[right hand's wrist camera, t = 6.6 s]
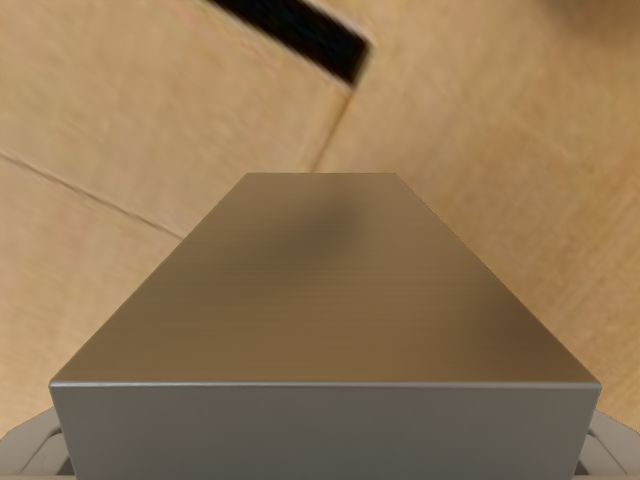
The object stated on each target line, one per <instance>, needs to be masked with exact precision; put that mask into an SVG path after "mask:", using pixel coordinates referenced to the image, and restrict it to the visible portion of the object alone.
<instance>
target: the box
mask: <svg viewBox="0 0 640 480" xmlns="http://www.w3.org/2000/svg"><path fill="white" fill-rule="evenodd" d="M601 389H602V388H601V384H600V382H599V381H598V380H597V379H596V378H595V377H594V376H593V375H592V374H591V373H590V372H589V371H588V370H587V369H586V368H585V367H584V366H583V365H582V364H581V363H580V362H579V360H578V359H577V358H576V357H575V356H574V355H573V354H572V353H571V352H570V351H569V350H568V349H567V348H566V347H565V346H564V345H563V344H562V343H561V342H560V341H559V340H558V339H557V338H556V337H555V336H554V335H553V334H552V333H551V332H550V331H549V330H548V329H547V328H546V327H545V326H544V325H543V324H542V323H541V322H540V321H539V320H538V319H537V318H536V317H535V315H534V314H533V313H532V312H531V311H530V310H529V309H528V308H527V307H526V306H525V305H524V304H523V303H522V302H521V301H520V300H519V299H518V298H517V297H516V296H515V295H514V294H513V293H512V292H511V291H510V290H509V289H508V288H507V287H506V286H505V285H504V284H503V283H502V282H501V281H500V280H499V279H498V278H497V277H496V276H495V275H494V274H493V273H492V271H491V270H490V269H489V268H488V267H487V266H486V265H485V264H484V263H483V262H482V261H481V260H480V259H479V258H478V257H477V256H476V255H475V254H474V253H473V252H472V251H471V250H470V249H469V248H468V247H467V246H466V245H465V244H464V243H463V242H462V241H461V240H460V239H459V238H458V237H457V236H456V235H455V234H454V233H453V232H452V231H451V230H450V229H449V228H448V226H447V225H446V224H445V223H444V222H443V221H442V220H441V219H440V218H439V217H438V216H437V215H436V214H435V213H434V212H433V211H432V210H431V209H430V208H429V207H428V206H427V205H426V204H425V203H424V202H423V201H422V200H421V199H420V198H419V197H418V196H417V195H416V194H415V193H414V192H413V191H412V190H411V189H410V188H409V187H408V186H407V185H406V184H405V183H404V181H403V180H402V179H401V178H400V177H399V176H398V175H397V174H395V173H247V174H246V175H245V176H244V177H243V178H242V179H241V180H240V181H239V182H238V183H237V184H236V185H235V186H234V187H233V188H232V189H231V191H230V192H229V193H228V194H227V195H226V196H225V197H224V198H223V199H222V200H221V201H220V202H219V203H218V204H217V205H216V206H215V207H214V208H213V209H212V211H211V212H210V213H209V214H208V215H207V216H206V217H205V218H204V219H203V220H202V221H201V222H200V223H199V224H198V225H197V226H196V227H195V228H194V230H193V231H192V232H191V233H190V234H189V235H188V236H187V237H186V238H185V239H184V240H183V241H182V242H181V243H180V244H179V245H178V246H177V247H176V248H175V250H174V251H173V252H172V253H171V254H170V255H169V256H168V257H167V258H166V259H165V260H164V261H163V262H162V263H161V264H160V265H159V266H158V267H157V269H156V270H155V271H154V272H153V273H152V274H151V275H150V276H149V277H148V278H147V279H146V280H145V281H144V282H143V283H142V284H141V285H140V286H139V287H138V289H137V290H136V291H135V292H134V293H133V294H132V295H131V296H130V297H129V298H128V299H127V300H126V301H125V302H124V303H123V304H122V305H121V306H120V308H119V309H118V310H117V311H116V312H115V313H114V314H113V315H112V316H111V317H110V318H109V319H108V320H107V321H106V322H105V323H104V324H103V325H102V326H101V328H100V329H99V330H98V331H97V332H96V333H95V334H94V335H93V336H92V337H91V338H90V339H89V340H88V341H87V342H86V343H85V344H84V345H83V347H82V348H81V349H80V350H79V351H78V352H77V353H76V354H75V355H74V356H73V357H72V358H71V359H70V360H69V361H68V362H67V363H66V364H65V366H64V367H63V368H62V369H61V370H60V371H59V372H58V373H57V374H56V375H55V376H54V377H53V378H52V379H51V380H50V382H49V390H50V393H51V397H52V400H53V403H54V407H55V410H56V413H57V417H58V420H59V423H60V427H61V430H62V433H63V436H64V440H65V443H66V446H67V450H68V453H69V456H70V460H71V463H72V466H73V470H74V473H75V476H76V480H572V478H573V475H574V472H575V469H576V466H577V463H578V460H579V457H580V454H581V451H582V447H583V444H584V441H585V438H586V435H587V432H588V429H589V426H590V423H591V420H592V416H593V413H594V410H595V407H596V404H597V401H598V398H599V395H600V392H601Z"/></svg>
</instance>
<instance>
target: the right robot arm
mask: <svg viewBox="0 0 640 480" xmlns="http://www.w3.org/2000/svg"><path fill="white" fill-rule="evenodd" d="M0 480H76V476H75V473H74V470H73V466H72V463H71V460H70V456H69V453H68V450H67V446H66V443H65V440H64V436H63V433H62V430H61V427H60V423H59V420H58V417H57V413H56V410H55V407H54V406H53V407H52V408H50V409H48V410H46V411H44V412H43V413H41V414H39V415H37V416H35V417H33V418H32V419H30V420H28V421H26V422H24V423H23V424H21V425H19V426H17V427H15V428H14V429H12V430H10V431H8V432H7V434H6V435H5V436H4V437H3V438H2V439H1V440H0ZM572 480H640V434H639V433H638V432H637V431H635V430H633V429H631V428H629V427H628V426H626V425H624V424H622V423H620V422H618V421H617V420H615V419H613V418H611V417H609V416H608V415H606V414H604V413H602V412H600V411H598V410H597V409H595V410H594V413H593V416H592V420H591V423H590V426H589V429H588V432H587V435H586V438H585V441H584V444H583V447H582V451H581V454H580V457H579V460H578V463H577V466H576V469H575V472H574V475H573V478H572Z"/></svg>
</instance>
